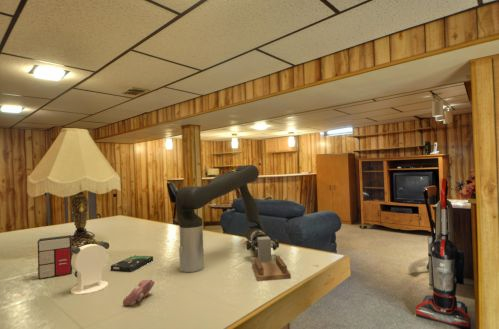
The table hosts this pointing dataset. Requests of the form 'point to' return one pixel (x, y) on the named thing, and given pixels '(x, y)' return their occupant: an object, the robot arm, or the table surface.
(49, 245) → the grey and red box
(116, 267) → the disk drive
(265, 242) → the block
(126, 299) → the pink lumpy piece
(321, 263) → the table surface
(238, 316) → the table surface
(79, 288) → the white rounded upright piece
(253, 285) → the table surface
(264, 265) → the walnut stand
